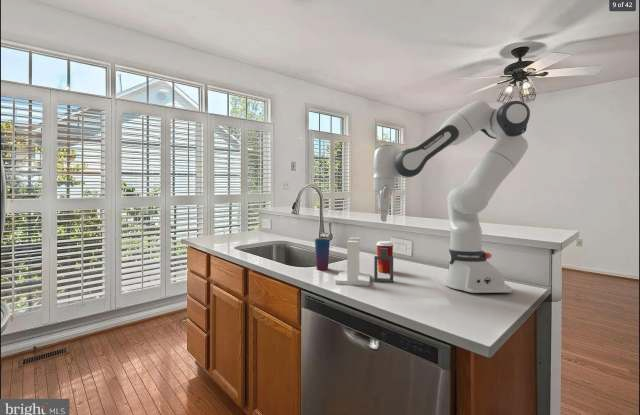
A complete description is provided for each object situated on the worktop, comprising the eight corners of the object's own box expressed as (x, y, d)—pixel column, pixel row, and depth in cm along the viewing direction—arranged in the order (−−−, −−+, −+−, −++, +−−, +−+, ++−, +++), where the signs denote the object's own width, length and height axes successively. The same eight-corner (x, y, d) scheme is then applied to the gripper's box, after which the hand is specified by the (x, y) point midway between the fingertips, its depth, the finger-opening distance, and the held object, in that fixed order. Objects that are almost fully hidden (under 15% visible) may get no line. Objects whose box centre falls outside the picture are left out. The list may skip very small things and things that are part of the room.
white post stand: (369, 276, 140) (370, 237, 140) (369, 285, 124) (369, 242, 124) (339, 275, 142) (339, 237, 142) (335, 284, 126) (335, 241, 126)
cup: (328, 273, 145) (328, 240, 145) (313, 273, 146) (313, 239, 146) (330, 270, 152) (330, 238, 152) (316, 270, 153) (316, 238, 153)
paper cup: (395, 272, 148) (395, 241, 148) (390, 275, 141) (390, 243, 141) (379, 270, 152) (379, 240, 152) (373, 273, 145) (373, 242, 145)
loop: (392, 280, 132) (392, 248, 132) (393, 282, 128) (393, 249, 128) (374, 279, 134) (374, 247, 133) (374, 282, 130) (374, 248, 130)
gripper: (393, 184, 120) (393, 222, 120) (390, 187, 140) (390, 219, 140) (376, 184, 121) (375, 222, 121) (375, 187, 141) (375, 219, 141)
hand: (383, 220), depth 131 cm, fingers open, 8 cm apart
